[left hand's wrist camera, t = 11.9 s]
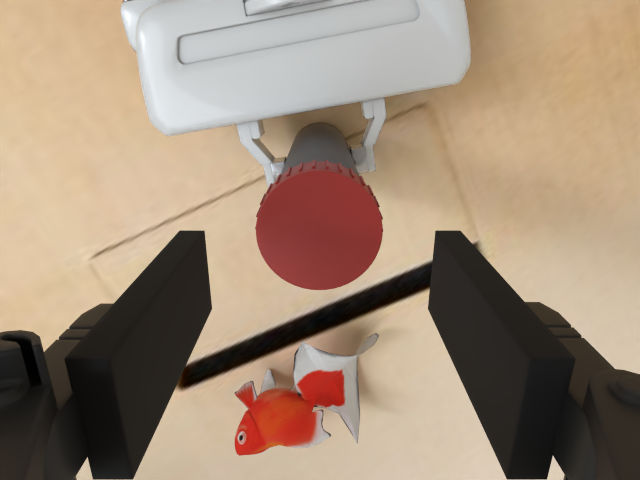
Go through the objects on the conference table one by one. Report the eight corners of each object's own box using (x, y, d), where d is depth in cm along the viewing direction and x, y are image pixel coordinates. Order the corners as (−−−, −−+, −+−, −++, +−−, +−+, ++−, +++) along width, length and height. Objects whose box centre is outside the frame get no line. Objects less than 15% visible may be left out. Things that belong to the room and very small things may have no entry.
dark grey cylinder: (346, 179, 37) (372, 282, 18) (292, 178, 37) (264, 279, 18) (348, 123, 35) (379, 175, 17) (292, 122, 35) (261, 173, 17)
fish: (185, 362, 37) (226, 461, 30) (339, 274, 42) (407, 341, 34) (227, 425, 44) (269, 518, 37) (356, 343, 48) (416, 412, 41)
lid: (374, 272, 20) (380, 292, 18) (262, 270, 20) (255, 290, 18) (382, 160, 18) (389, 170, 16) (258, 158, 18) (251, 167, 16)
